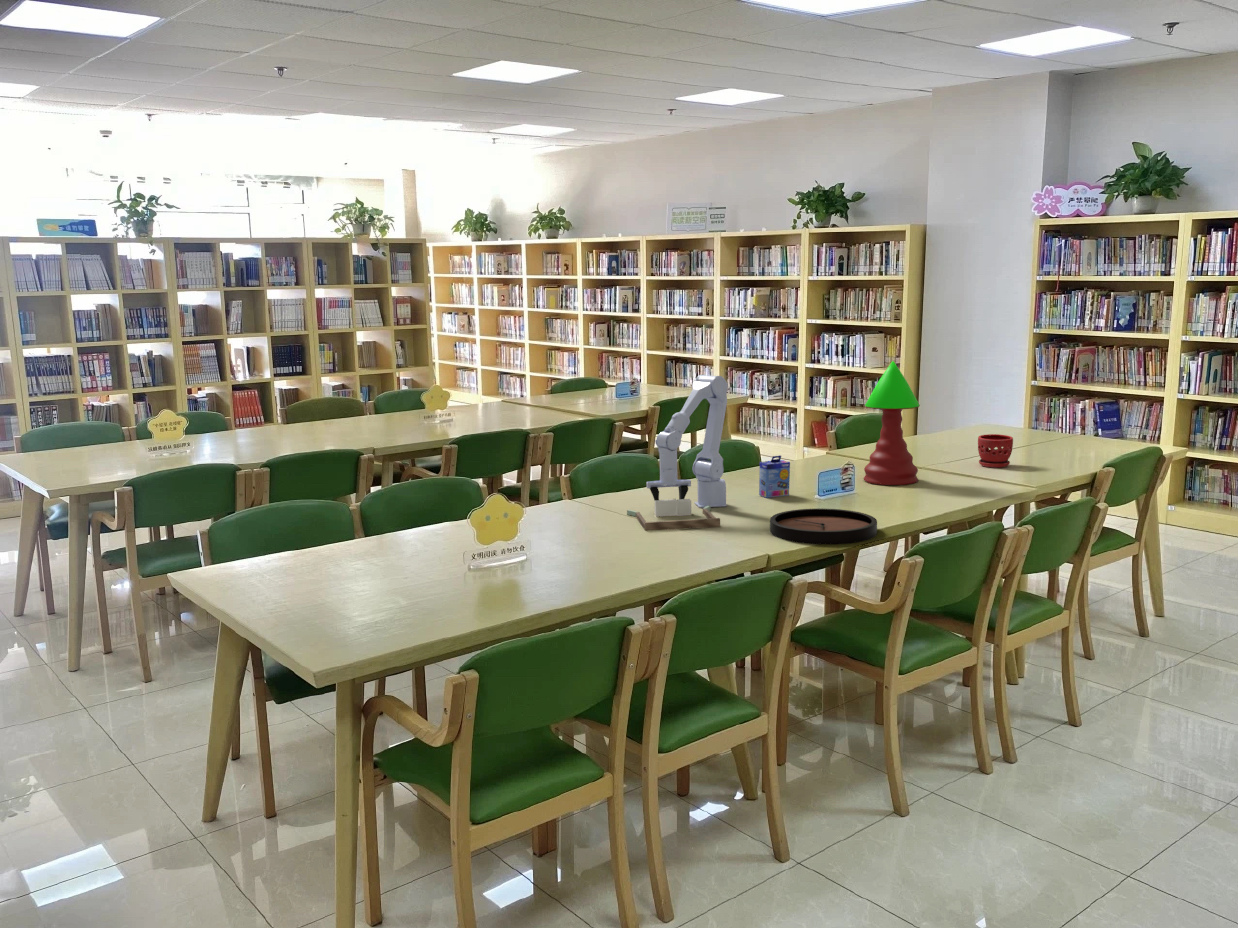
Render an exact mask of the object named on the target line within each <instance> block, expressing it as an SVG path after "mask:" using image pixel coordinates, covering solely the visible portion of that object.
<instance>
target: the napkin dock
mask: <svg viewBox="0 0 1238 928" xmlns="http://www.w3.org/2000/svg"><path fill="white" fill-rule="evenodd" d="M711 510H712V507H711V506H706V507H703V508H702V515H704V516H705V517H706V518H695V519H680V520H679V519H677V520H658V521H646V520H645V517H643V515H642V514H641V512H640V511H635V510H632V509H627V510H626V515H627V516H630V515H632V517H635V518H636V519H637V521H638V522H639V524H640V525H641V527H642V528H643V529H644V531H645V532H646V531H647V532H652V531H653V532H654V531H668V530H686V529H702V528H704V529H705V528H720V527H721V518H720V517H716V516H715V515H713V513H711Z"/></svg>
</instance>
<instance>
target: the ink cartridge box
mask: <svg viewBox="0 0 1238 928" xmlns="http://www.w3.org/2000/svg"><path fill="white" fill-rule="evenodd" d="M781 458H782V455H773V456H772V457H771V460H765V461H759V490H758V491H759V492H758V493H759V494H758V495H759V496H760V497H763V498H765V499H769V498H771V499H772V498H778V497H786V496H787V497H788V496H790V473H791V462H790V461H788V460H783V459H781Z"/></svg>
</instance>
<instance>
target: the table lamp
mask: <svg viewBox="0 0 1238 928" xmlns="http://www.w3.org/2000/svg"><path fill="white" fill-rule="evenodd" d="M919 407H920V402H919V401H918V399H917V398H916V396H915V394H914V392H913V391H912V388H911V387H910V385H909V383H908V380H907V379H906V377H905V376H904V375H903V373H902V372H901V370H900V368H899V367H898V366H897V364H896V362H894V360H892V361H891V362H890V364H889V365H888V366H887V368H886V370H885V371H884V372H883V373H882V375H881V377H880V378H879V380H878V381H877V384H876V385H875V387H874V388H873V390H872V392H871V394H870V395H869V397H868V399H867V400H866V403H865V404H864V408H867V409H872V410H873V409H874V410H881V411H882V414H881V415H882V416H881V419H880V420H881V425H882V427H881V429H880V431H879V432H880V437H879V439H878V440H877V441H876V443H875V449H874V451H873V452H872V453H871V454H870V455H869V462H868V463H867V465H865V466H864V468H863V471H864V473H865V475H864V477H863V481H865V483H869V484H874V485H880V486H883V485H884V486H905V485H906V486H907V485H912V484H915V483H918V481H919V478H918V476H917V474H918V471H919V470H918V468H917V467H918V466H916V464H914V462H913V460H914V457H913V456H912V454H911V453H910V452H909V450H908V444H907V442H906V441H905V439H904V437H903V436H904V431H903V428H902V422H903V415H902V412H903V410H912V409H917V408H919Z"/></svg>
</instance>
